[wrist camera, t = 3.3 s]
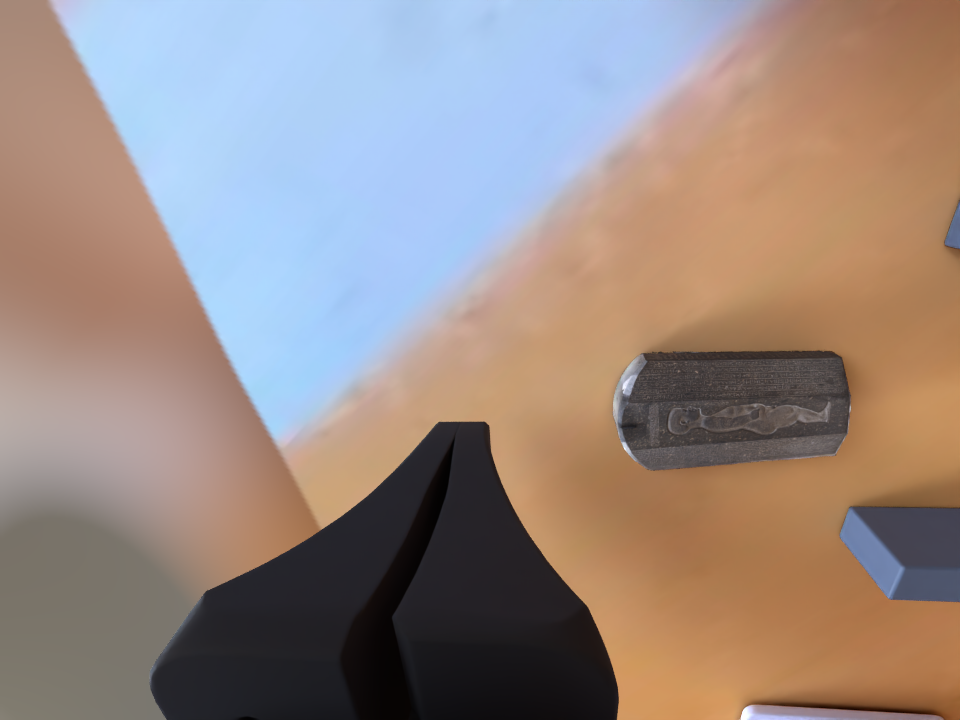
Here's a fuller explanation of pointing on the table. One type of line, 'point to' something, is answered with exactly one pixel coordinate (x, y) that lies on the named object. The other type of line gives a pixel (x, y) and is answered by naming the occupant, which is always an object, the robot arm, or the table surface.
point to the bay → (909, 537)
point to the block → (731, 407)
